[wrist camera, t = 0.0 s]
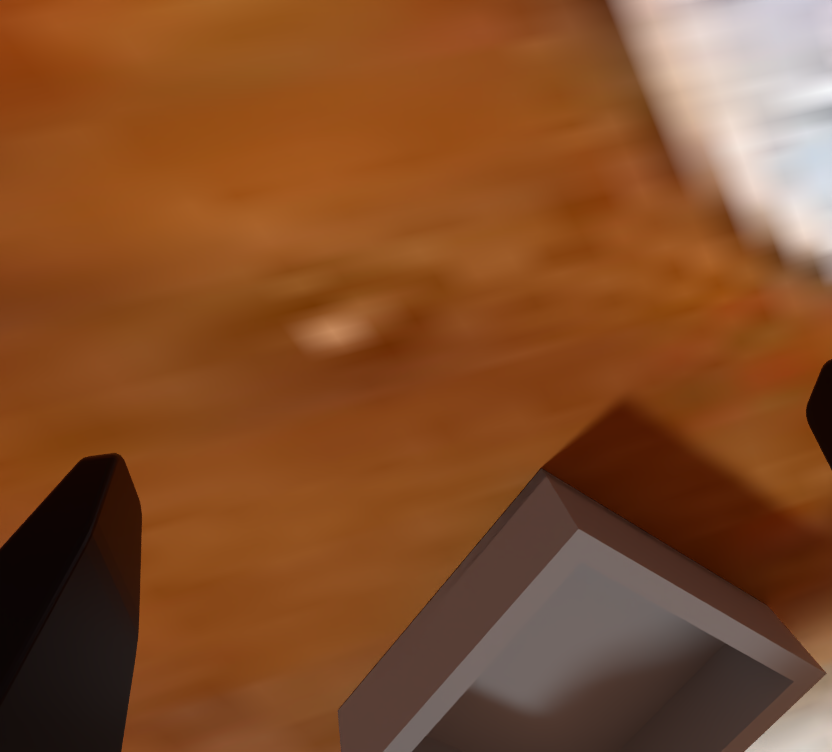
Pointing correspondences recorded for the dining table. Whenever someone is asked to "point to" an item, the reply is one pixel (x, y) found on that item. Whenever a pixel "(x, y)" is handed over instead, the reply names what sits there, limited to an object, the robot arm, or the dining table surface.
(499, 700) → the bin
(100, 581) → the robot arm
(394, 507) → the dining table surface
